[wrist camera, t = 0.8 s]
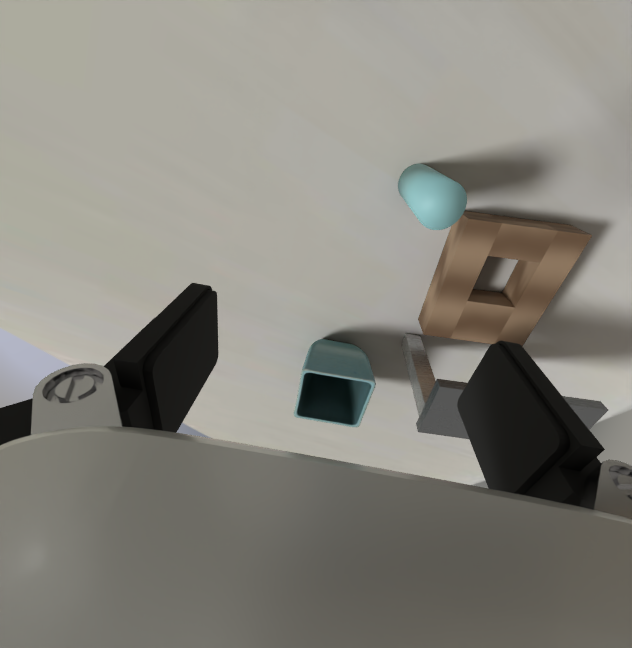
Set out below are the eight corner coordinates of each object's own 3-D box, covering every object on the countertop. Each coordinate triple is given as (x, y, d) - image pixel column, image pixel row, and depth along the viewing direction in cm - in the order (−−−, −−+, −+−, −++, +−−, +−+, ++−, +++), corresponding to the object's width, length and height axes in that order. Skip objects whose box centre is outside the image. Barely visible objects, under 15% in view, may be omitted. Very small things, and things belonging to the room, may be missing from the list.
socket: (457, 209, 32) (468, 218, 29) (570, 225, 32) (592, 235, 29) (418, 319, 40) (423, 334, 37) (508, 331, 40) (521, 348, 37)
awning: (411, 304, 39) (439, 386, 27) (527, 320, 39) (608, 410, 27) (397, 344, 43) (418, 431, 31) (504, 358, 42) (566, 452, 30)
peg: (403, 161, 30) (425, 176, 22) (439, 166, 30) (474, 183, 22) (394, 199, 32) (410, 226, 24) (428, 203, 32) (456, 232, 24)
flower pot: (356, 380, 47) (358, 429, 40) (301, 371, 47) (292, 417, 40) (371, 336, 42) (377, 382, 35) (309, 325, 42) (301, 369, 35)
